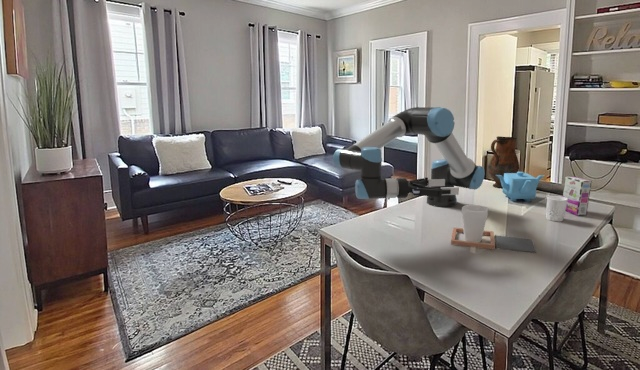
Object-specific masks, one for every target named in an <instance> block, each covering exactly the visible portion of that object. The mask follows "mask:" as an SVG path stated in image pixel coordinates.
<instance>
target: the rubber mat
mask: <svg viewBox="0 0 640 370" xmlns="http://www.w3.org/2000/svg"><path fill="white" fill-rule="evenodd" d="M494 238H495V247H496V249H500V250H508V251H517V252H524V253H534V254H536V253H537V250H536V247H535V244H534V242H533V239H532V238H526V237H515V236H514V237H513V236H505V235H497V234H496V235H495V234H494Z"/></svg>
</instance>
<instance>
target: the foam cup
mask: <svg viewBox="0 0 640 370" xmlns="http://www.w3.org/2000/svg"><path fill="white" fill-rule="evenodd" d="M488 215H489V209H488V207H485V206H483V205H479V204H466V205H463V206H462V207H461V216H462V228H463V231H464V233H463V239H464V241H469V242H478V243H482V242H481V241H482V239H483V236H484V235H483V231H485V225H486V222H487V217H488Z"/></svg>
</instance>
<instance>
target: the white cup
mask: <svg viewBox="0 0 640 370" xmlns="http://www.w3.org/2000/svg"><path fill="white" fill-rule="evenodd" d="M567 200H568V199H567V198H565V197H563V196H560V195H548V196H547V197H546V205H545V207H546V209H545V213H546V215H545V218H546V220H548V221H552V222H564V218H565V216H566V215H565V214H566V212H567V211H566V206H567Z"/></svg>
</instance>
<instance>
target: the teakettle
mask: <svg viewBox="0 0 640 370" xmlns="http://www.w3.org/2000/svg"><path fill="white" fill-rule="evenodd" d="M496 176H498V177H499V178H500V180H501V185H502V187H503V188H502V191H501V192H502V193H503V194H504V195H505V198H508V199H510V200H509V201H511V202H517V200H523V201H525V202H531V200H535V199H536V196H537V187H538V185H539V183H540V181H541V179H542V178H543V177H545V176H546V174H544V175H543V174H541V175H538V176H536V177H535V176H533V175H531V174H529V173H528V172H526V173H525V172H524V171H518V172H517V173H504V178H503V176H501V175H496Z"/></svg>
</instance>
